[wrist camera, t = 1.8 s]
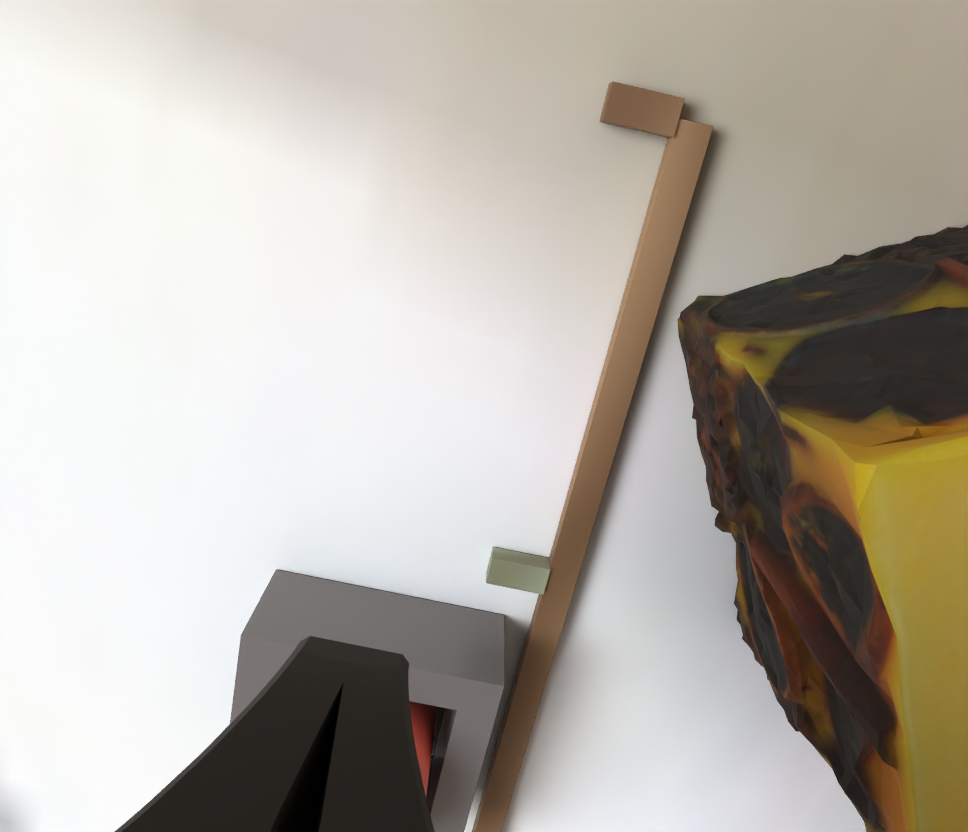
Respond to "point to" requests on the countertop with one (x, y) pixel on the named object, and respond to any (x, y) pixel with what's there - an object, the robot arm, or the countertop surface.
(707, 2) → the countertop surface
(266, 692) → the robot arm
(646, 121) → the track
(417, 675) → the button box
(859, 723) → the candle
